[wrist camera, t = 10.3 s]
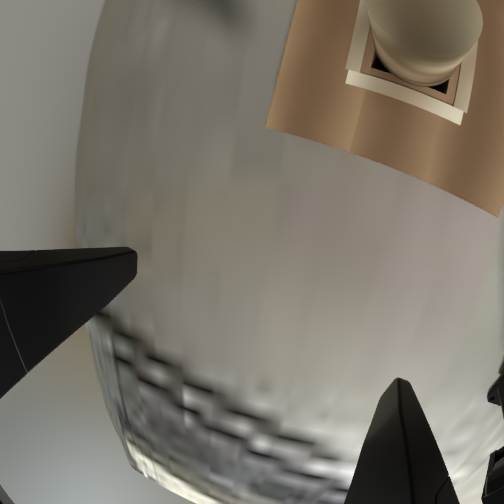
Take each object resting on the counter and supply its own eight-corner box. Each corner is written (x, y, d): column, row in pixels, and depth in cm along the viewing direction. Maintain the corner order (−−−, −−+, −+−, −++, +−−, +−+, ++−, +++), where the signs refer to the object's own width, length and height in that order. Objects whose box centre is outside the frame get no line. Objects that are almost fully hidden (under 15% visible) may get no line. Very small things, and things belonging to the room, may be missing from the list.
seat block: (515, 24, 8) (530, 8, 5) (482, 207, 14) (498, 218, 11) (325, -37, 12) (312, -60, 10) (283, 130, 18) (264, 127, 16)
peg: (452, 45, 11) (484, -17, 4) (441, 108, 13) (479, 75, 6) (383, 21, 13) (369, -54, 6) (370, 82, 15) (352, 30, 8)
